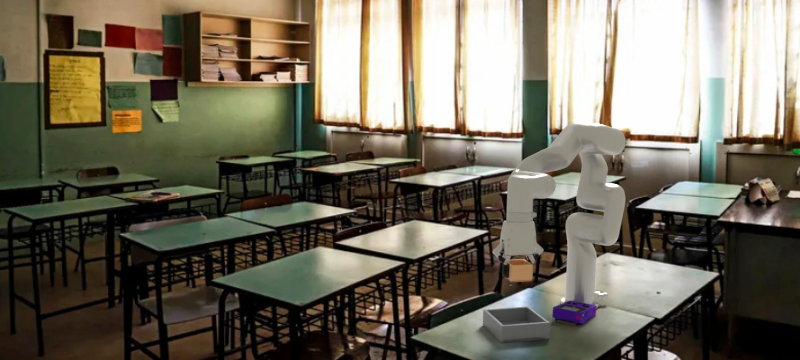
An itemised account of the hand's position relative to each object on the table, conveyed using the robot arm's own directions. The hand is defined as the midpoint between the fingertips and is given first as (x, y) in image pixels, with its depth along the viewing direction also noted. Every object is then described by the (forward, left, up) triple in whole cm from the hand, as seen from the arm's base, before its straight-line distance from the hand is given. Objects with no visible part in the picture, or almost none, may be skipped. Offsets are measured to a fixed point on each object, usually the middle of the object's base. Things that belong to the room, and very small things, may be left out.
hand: (517, 275), depth 201 cm
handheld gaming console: (-24, -8, -18) cm, 31 cm away
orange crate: (0, 0, -1) cm, 1 cm away
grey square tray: (0, 0, -17) cm, 17 cm away
